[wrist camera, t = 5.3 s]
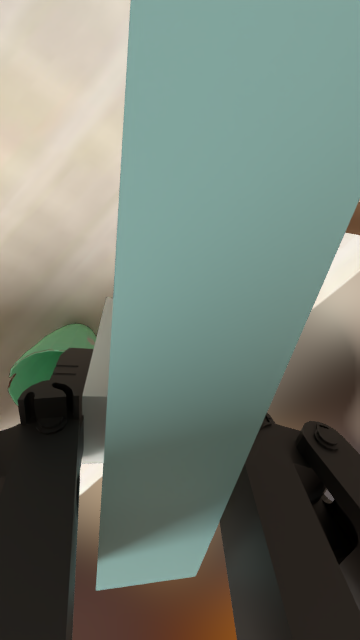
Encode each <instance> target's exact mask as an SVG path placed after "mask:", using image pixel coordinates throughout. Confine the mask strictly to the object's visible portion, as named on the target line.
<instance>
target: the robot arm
mask: <svg viewBox="0 0 360 640" xmlns="http://www.w3.org/2000/svg"><path fill="white" fill-rule="evenodd" d="M112 310H113V298H107V297H106V300H105V305H104V309H103V313H102V317H101V321H100V325H99V329H98V333H97V337H96V342H95V346H94V349H87V348H68V349H67V350H66V351H65V352H64V353H62V354H61V355H60V357H59V359H58V362H57V364H56V367H55V368H54V371H53V374H52V375H51V378H50V380H46V381H41V382H39V383H36V384H34V385H31V386H30V387H29V388H27V389H26V390H25V391H23V392H22V394H21V395H20V397H19V398H18V400H17V401H18V408H19V414H20V421H21V423H20V424H18V425H16V426H14V427H12V428H9V429H6V430H3V431H0V640H72V630H73V609H74V589H75V568H76V548H77V547H76V545H77V527H78V507H79V486H80V467H81V462H82V464H92V463H104V446H105V429H106V412H107V395H108V378H109V361H110V344H111V327H112ZM327 489H328V491H329V492H330V493H331V495H332V496H333V498H334V499H335V500H334V501H333V502H332V501H331V500H329V499H328V498H327V497H326V496H325V495H324V493H325V492H326V490H327ZM220 527H221V533H222V540H223V547H224V554H225V560H226V567H227V574H228V581H229V588H230V594H231V601H232V608H233V615H234V622H235V628H236V635H237V640H360V454H359V453H358V452H357V451H356V450H355V449H354V448H353V447H352V446H351V445H350V444H349V443H348V442H347V441H346V440H345V438H343V436H342V435H340V434H339V433H338V432H337V431H336V430H334V429H333V428H331V427H329V426H328V425H326V424H323V423H320V422H315V421H309V422H307V423H305V424H304V426H303V428H302V430H301V431H299V430H295V429H291V428H288V427H284V426H280V425H277V424H275V422H274V421H273V419H272V418H271V416H270V415H269V414H268V413H266V415H265V418H264V420H263V422H262V425H261V427H260V429H259V432H258V434H257V436H256V438H255V441H254V443H253V445H252V448H251V450H250V452H249V455H248V457H247V459H246V461H245V464H244V466H243V468H242V471H241V473H240V475H239V478H238V480H237V482H236V484H235V487H234V489H233V491H232V494H231V496H230V498H229V501H228V503H227V505H226V507H225V510H224V512H223V514H222V517H221V519H220Z"/></svg>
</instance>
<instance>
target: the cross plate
mask: <svg viewBox="0 0 360 640" xmlns="http://www.w3.org/2000/svg"><path fill="white" fill-rule="evenodd" d="M359 199H360V0H131V5H130V22H129V39H128V56H127V73H126V89H125V106H124V123H123V140H122V157H121V174H120V191H119V208H118V225H117V242H116V259H115V276H114V293H113V310H112V327H111V344H110V361H109V378H108V395H107V412H106V429H105V446H104V463H103V481H102V498H101V514H100V531H99V548H98V565H97V583H96V590H104V589H111V588H118V587H125V586H132V585H138V584H145V583H153V582H160V581H167V580H174V579H181V578H187V577H194V576H196V574H197V572H198V569H199V567H200V565H201V562H202V560H203V558H204V555H205V553H206V551H207V549H208V546H209V544H210V542H211V540H212V537H213V535H214V532H215V530H216V528H217V526H218V524H219V521H220V519H221V517H222V514H223V512H224V510H225V507H226V505H227V503H228V501H229V498H230V496H231V494H232V491H233V489H234V487H235V484H236V482H237V480H238V478H239V475H240V473H241V471H242V468H243V466H244V464H245V461H246V459H247V457H248V455H249V452H250V450H251V448H252V445H253V443H254V441H255V438H256V436H257V434H258V432H259V429H260V427H261V425H262V422H263V420H264V418H265V415H266V413H267V411H268V409H269V406H270V404H271V402H272V399H273V397H274V395H275V392H276V390H277V388H278V385H279V383H280V381H281V378H282V376H283V374H284V372H285V369H286V367H287V365H288V363H289V360H290V358H291V356H292V353H293V351H294V349H295V346H296V344H297V342H298V340H299V337H300V335H301V333H302V330H303V328H304V325H305V323H306V321H307V319H308V317H309V314H310V312H311V310H312V307H313V305H314V303H315V300H316V298H317V296H318V294H319V291H320V289H321V287H322V284H323V282H324V280H325V277H326V275H327V273H328V271H329V268H330V266H331V264H332V261H333V259H334V257H335V254H336V252H337V250H338V248H339V245H340V243H341V241H342V238H343V236H344V234H345V231H346V229H347V227H348V225H349V222H350V220H351V218H352V215H353V213H354V211H355V208H356V206H357V204H358V202H359Z"/></svg>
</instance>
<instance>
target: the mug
mask: <svg viewBox="0 0 360 640" xmlns="http://www.w3.org/2000/svg"><path fill="white" fill-rule="evenodd" d="M95 342H96V335H95V334H94V332H93V331H92V330H91V329H90V328H89V327H87V326H85V325H83V324H76V323H74V324H69V325H67V326H64V327H62V328H60V329H58V330H56V331H54V332H52V333H51V334H49V335H47V336H45V337H44V338H43V339H42V340H41V341H40V342H39V343H37V344H36V345H35V346H34V347H32V348H31V349H30V350H28V351H27V352H26V353H24V354H23V356H22V357H21V358H20V359H19V360H18V361H17V362H16V363H15V364H14V365H13V367H12V368H11V370H10V374H9V378H10V377H11V376H12V375H13V374H14V376H13V377H12V379H11V380H10V383H9V386H8V393H9V394H10V396H11V398H12V399H13V401H14V403H15V404H16V405H18V401H17V400H18V398H19V397H20V395H21V394H22V392H23V391H25V390H26V389H27V388H29V387H30V386H31V385H34V384H36V383H39V382H41V381H46V380H50V378H51V375H52V374H53V371H54V368H55V367H56V364H57V362H58V359H59V357H60V355H61V354H62V353H64V352H65V351H66V350H67V349H68V348H87V349H94V346H95Z"/></svg>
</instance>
